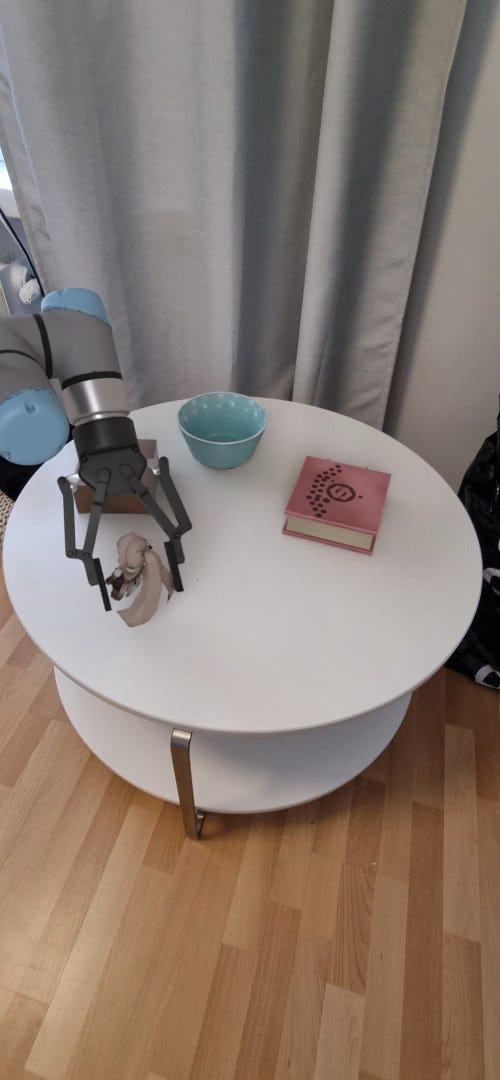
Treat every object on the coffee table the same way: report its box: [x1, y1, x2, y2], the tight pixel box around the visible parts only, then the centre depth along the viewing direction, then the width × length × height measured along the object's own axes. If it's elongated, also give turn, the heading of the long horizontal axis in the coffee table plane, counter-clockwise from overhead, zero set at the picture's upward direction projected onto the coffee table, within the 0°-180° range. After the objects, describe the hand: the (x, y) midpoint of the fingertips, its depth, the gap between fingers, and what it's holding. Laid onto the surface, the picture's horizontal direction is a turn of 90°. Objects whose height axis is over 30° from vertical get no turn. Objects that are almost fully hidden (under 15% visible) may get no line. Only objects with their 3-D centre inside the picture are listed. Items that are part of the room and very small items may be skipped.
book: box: [281, 454, 392, 557], centre depth 95 cm, size 14×15×5 cm
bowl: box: [175, 391, 269, 470], centre depth 103 cm, size 16×16×8 cm
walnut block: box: [73, 438, 159, 515], centre depth 96 cm, size 12×12×6 cm
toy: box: [105, 531, 176, 629], centre depth 74 cm, size 9×8×15 cm
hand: (144, 600), depth 73 cm, fingers closed on toy, 8 cm apart
